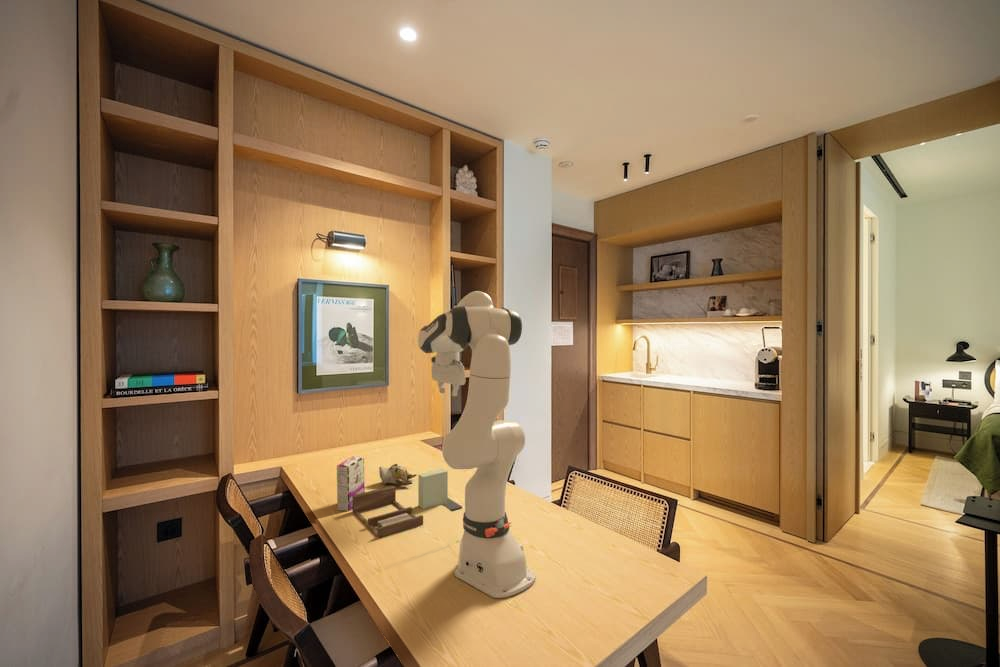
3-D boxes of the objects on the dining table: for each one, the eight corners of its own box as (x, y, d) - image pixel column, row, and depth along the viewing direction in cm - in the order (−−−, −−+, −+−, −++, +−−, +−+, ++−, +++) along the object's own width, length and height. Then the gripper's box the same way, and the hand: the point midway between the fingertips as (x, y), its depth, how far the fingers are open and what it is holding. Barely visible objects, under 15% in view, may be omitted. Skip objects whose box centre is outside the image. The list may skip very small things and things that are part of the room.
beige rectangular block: (447, 503, 157) (447, 471, 157) (422, 510, 151) (423, 477, 151) (442, 500, 160) (442, 468, 160) (418, 507, 154) (418, 474, 154)
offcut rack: (423, 528, 139) (423, 506, 139) (378, 542, 130) (378, 519, 130) (393, 504, 158) (393, 485, 158) (352, 515, 149) (352, 495, 149)
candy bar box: (353, 498, 163) (352, 455, 163) (365, 499, 162) (365, 456, 162) (336, 510, 152) (336, 464, 152) (348, 512, 151) (348, 465, 151)
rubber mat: (462, 508, 155) (462, 506, 155) (422, 520, 145) (422, 518, 145) (442, 496, 166) (442, 494, 166) (404, 506, 156) (404, 504, 156)
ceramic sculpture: (383, 458, 184) (417, 461, 184) (381, 478, 184) (416, 481, 184) (375, 467, 173) (412, 469, 173) (374, 488, 174) (411, 490, 174)
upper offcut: (414, 525, 139) (414, 518, 139) (384, 534, 133) (384, 527, 133) (406, 518, 143) (406, 513, 143) (377, 527, 137) (377, 521, 137)
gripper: (469, 360, 162) (469, 397, 162) (442, 357, 178) (442, 390, 178) (455, 361, 158) (455, 398, 158) (428, 357, 174) (428, 391, 174)
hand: (448, 394), depth 168 cm, fingers open, 8 cm apart
